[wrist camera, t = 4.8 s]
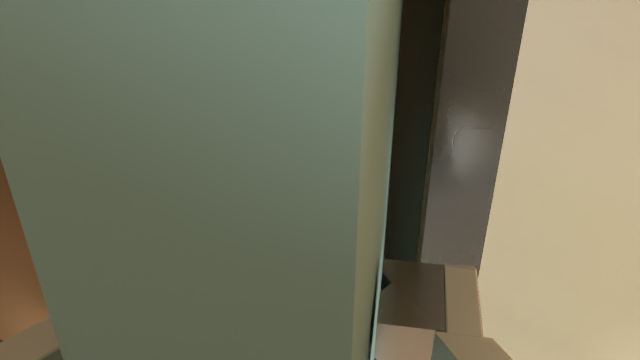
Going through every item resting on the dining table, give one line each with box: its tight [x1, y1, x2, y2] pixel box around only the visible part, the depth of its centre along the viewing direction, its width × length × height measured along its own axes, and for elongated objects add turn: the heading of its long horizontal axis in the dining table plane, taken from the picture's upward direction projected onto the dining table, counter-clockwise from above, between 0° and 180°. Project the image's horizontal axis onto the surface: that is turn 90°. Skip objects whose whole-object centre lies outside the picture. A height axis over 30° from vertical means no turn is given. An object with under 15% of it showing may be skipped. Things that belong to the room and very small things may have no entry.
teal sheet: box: [0, 0, 404, 360], centre depth 10 cm, size 2×14×9 cm, turn 0°
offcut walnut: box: [0, 158, 50, 341], centre depth 14 cm, size 4×10×2 cm, turn 164°
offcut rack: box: [0, 0, 528, 343], centre depth 12 cm, size 15×20×7 cm
